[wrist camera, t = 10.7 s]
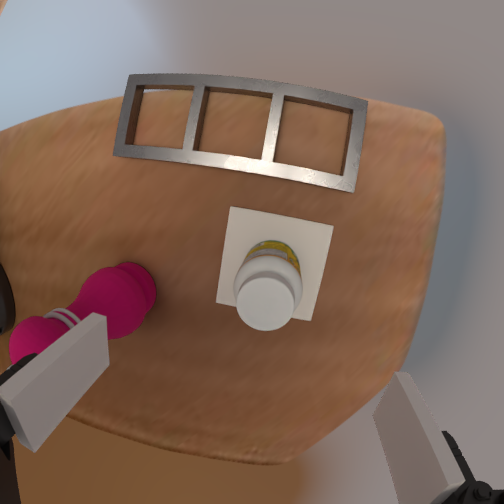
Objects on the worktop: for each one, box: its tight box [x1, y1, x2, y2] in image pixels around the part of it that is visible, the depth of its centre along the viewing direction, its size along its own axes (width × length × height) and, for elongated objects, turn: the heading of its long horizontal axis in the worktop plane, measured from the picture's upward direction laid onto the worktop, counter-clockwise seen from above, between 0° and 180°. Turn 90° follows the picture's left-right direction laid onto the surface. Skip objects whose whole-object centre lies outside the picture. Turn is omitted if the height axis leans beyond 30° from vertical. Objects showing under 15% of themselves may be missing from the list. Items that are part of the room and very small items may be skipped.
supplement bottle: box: [233, 240, 303, 331], centre depth 25 cm, size 5×5×10 cm
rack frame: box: [113, 74, 368, 193], centre depth 26 cm, size 24×9×2 cm, turn 80°
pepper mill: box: [7, 262, 156, 369], centre depth 23 cm, size 7×7×20 cm
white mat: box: [216, 206, 334, 321], centre depth 30 cm, size 10×10×1 cm
